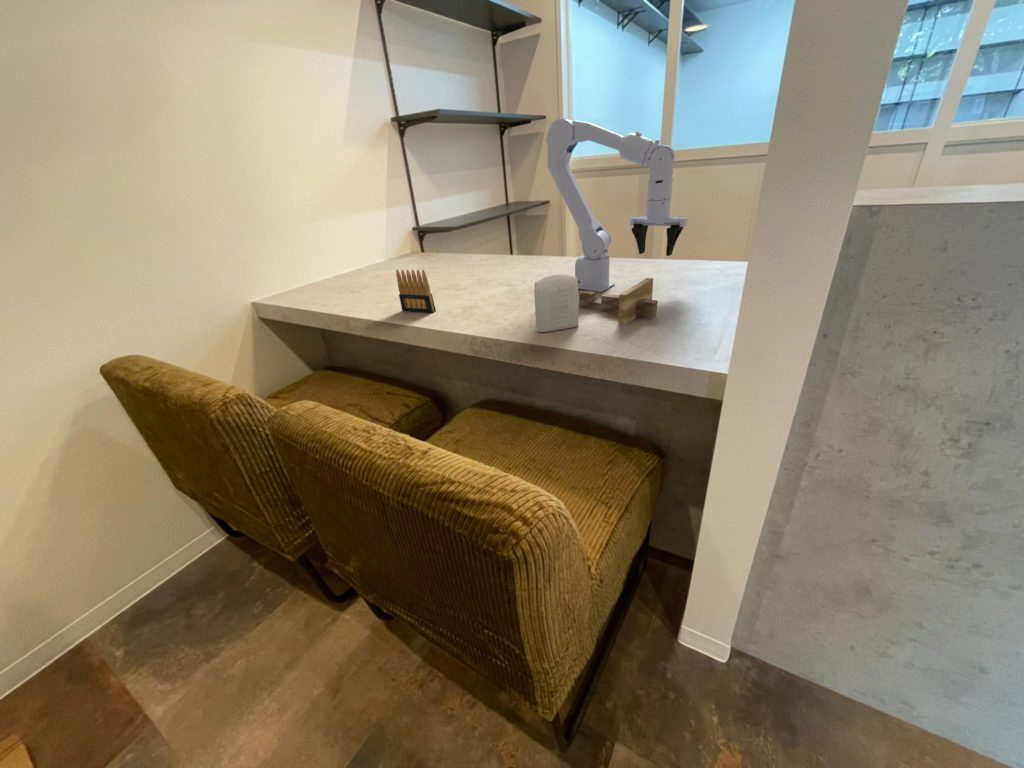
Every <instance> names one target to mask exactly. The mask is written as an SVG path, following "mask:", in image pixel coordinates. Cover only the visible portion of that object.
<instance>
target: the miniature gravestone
mask: <svg viewBox="0 0 1024 768" xmlns="http://www.w3.org/2000/svg"><path fill="white" fill-rule="evenodd" d="M533 288H534V289H533V291H534V293H533V294H534V295H533V296H534V310H535V312H534V313H535V323H536V324H535V329H536V331H537V332H538V333H545V332H546V333H547V332H552V331H559V330H564V329H571V328H575V327H578V326H579V320H580V319H579V289H578V281H577V278H576V277H575V275H570V274H553V275H549V276H546V277H544V278H540V279H539V280H537V281H535V283H534V287H533Z"/></svg>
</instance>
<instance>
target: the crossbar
mask: <svg viewBox="0 0 1024 768" xmlns="http://www.w3.org/2000/svg"><path fill="white" fill-rule="evenodd" d="M653 289H654V278H652V277H646V278H644V279H643V280H641V281H640V282H637V283H636V284H634V285H632V286H630V287H629V288H627V289H625V290H624V291H622V292H621V293H618V295H619V314H618V323H617V324H620V325H622V326H623V325H624V326H625V325H627V324H628V323H629V322H631V321H632V320H634V319H635V318H637V317H636V308H637V307H638V306H639V301H640V300H642V299H650V300H653V292H654V290H653Z"/></svg>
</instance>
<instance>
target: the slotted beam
mask: <svg viewBox="0 0 1024 768" xmlns="http://www.w3.org/2000/svg"><path fill="white" fill-rule="evenodd" d="M596 292H597V291H591V290H584V289H582V290H581V291H580V292H579V291H578V308H582V309H585V310H586V309H587V310H592V311H599V312H605V313H611V314H617V315H619V294H614V293H603V294H602V295H600V299H596ZM658 302H659V301H658V300H657V299H656V300H655V299H652V300H650V299H642V300H640V301H639V306H638V307H637V308H636V317H635V318H640V319H645V320H651V321H653V320H654V319H656V318H657V315H658V314H657V313H658Z"/></svg>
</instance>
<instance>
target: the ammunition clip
mask: <svg viewBox="0 0 1024 768" xmlns="http://www.w3.org/2000/svg"><path fill="white" fill-rule="evenodd" d="M421 270H422V271H421V272H420V270H419V269H417V270H416V272H415V270H414V269H411V273H410V270H409V269H406V271H404V269H401V271H399V269H398V268H397V269H396V270H395V271H396V273H395V274H396V281H397V288H398V293H399V294H398V297H399V302H400V306H401V311H402V312H407V313H419V312H420V313H421V314H422V313H423V314H433V313H435V312H436V311H437V310H436V306H435V301H434V297H433V294H432V291H431V287H430V284H429V280H428V277H427V274H426V272H425V270H424V269H421ZM405 272H406V273H405Z"/></svg>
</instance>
